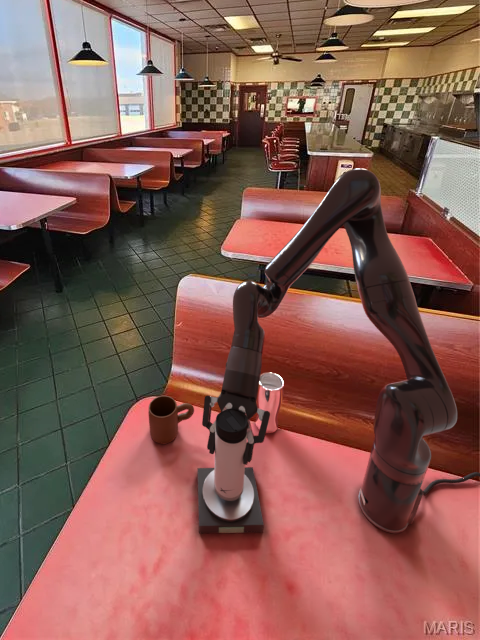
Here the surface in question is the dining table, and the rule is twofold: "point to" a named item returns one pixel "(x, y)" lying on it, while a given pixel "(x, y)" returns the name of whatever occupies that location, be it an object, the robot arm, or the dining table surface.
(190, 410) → the mug
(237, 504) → the scale pan
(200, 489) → the scale
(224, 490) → the travel mug
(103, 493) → the dining table surface
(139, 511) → the dining table surface
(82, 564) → the dining table surface
